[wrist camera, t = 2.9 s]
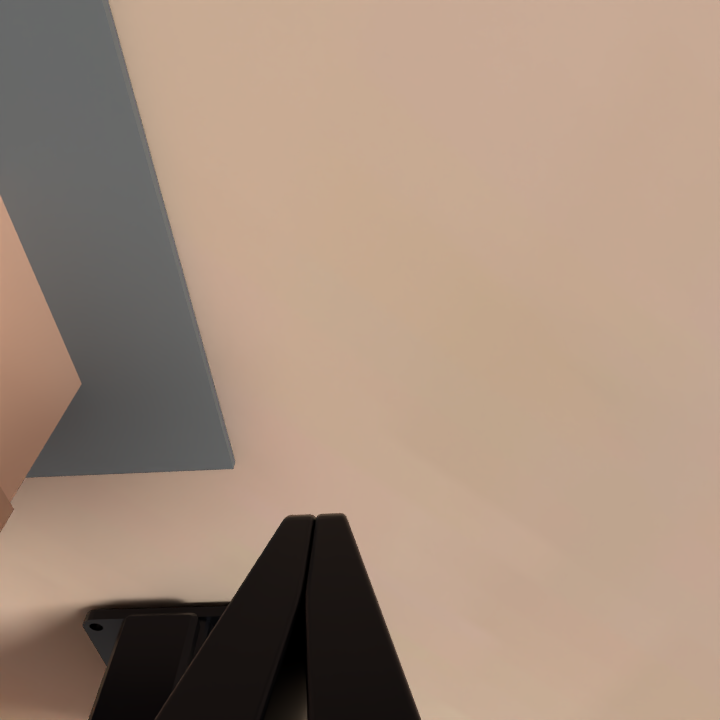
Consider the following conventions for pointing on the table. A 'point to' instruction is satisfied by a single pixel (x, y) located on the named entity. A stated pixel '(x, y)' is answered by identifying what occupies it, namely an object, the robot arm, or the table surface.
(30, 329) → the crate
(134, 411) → the runner mat
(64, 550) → the table surface
